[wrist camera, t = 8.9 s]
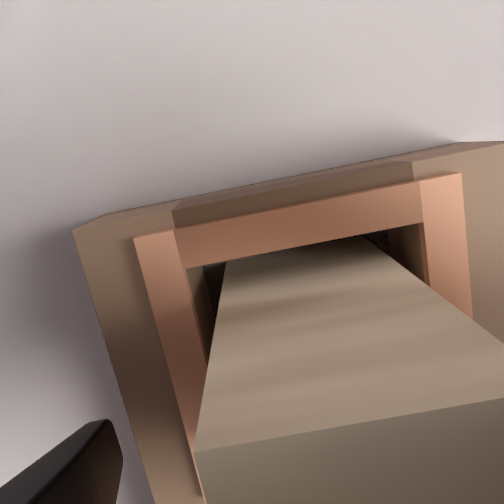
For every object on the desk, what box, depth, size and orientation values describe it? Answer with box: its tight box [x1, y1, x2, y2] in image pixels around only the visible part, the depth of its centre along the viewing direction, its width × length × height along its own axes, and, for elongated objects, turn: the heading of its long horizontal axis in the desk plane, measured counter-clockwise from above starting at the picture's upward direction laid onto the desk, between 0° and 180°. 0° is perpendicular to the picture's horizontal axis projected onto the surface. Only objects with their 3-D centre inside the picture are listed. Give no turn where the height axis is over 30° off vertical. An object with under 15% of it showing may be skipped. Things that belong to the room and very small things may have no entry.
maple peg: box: [193, 236, 504, 504], centre depth 9 cm, size 4×4×8 cm
